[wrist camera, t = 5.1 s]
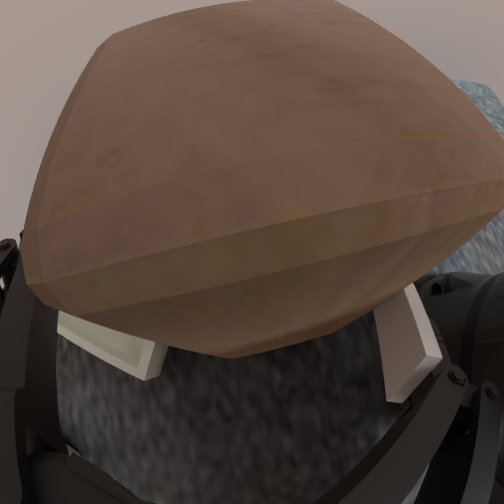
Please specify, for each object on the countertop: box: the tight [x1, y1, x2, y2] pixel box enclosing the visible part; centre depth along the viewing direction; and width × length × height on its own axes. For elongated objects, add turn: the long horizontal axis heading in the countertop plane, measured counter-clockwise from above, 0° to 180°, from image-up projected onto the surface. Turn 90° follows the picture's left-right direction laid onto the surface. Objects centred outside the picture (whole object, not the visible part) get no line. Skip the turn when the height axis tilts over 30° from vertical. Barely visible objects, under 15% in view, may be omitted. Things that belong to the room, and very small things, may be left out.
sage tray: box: [57, 311, 168, 381], centre depth 23 cm, size 15×15×4 cm
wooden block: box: [20, 0, 504, 359], centre depth 14 cm, size 10×10×20 cm
